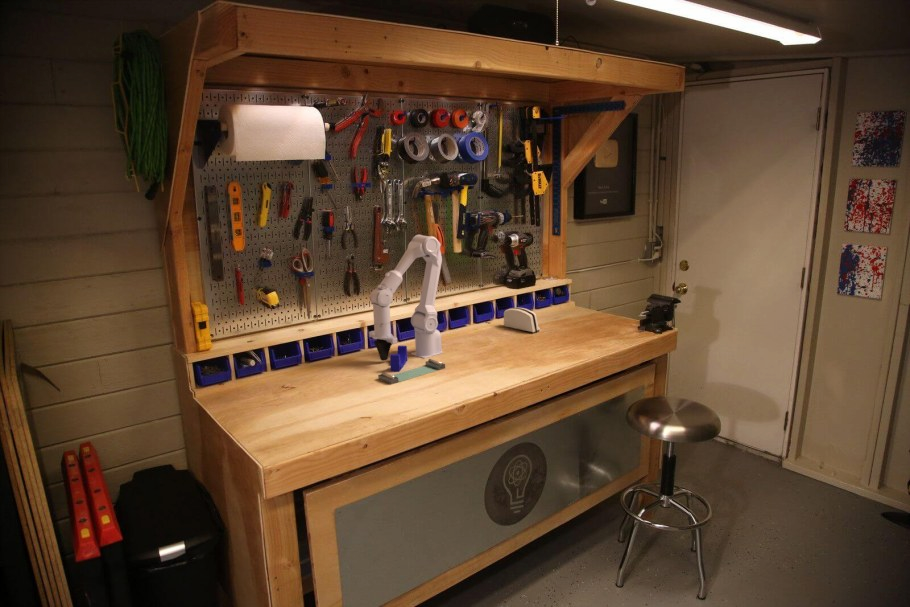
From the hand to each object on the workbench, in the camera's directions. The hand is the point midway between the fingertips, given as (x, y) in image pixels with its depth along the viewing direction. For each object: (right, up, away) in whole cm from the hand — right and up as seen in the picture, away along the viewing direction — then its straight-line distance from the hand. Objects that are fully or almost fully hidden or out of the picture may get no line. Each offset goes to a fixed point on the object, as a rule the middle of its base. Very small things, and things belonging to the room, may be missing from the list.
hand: (384, 359), depth 217 cm
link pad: (+11, -4, -12) cm, 16 cm away
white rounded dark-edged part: (+54, +8, +41) cm, 68 cm away
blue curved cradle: (+5, -2, -3) cm, 6 cm away
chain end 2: (+18, -2, -5) cm, 19 cm away
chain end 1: (+3, -5, -18) cm, 19 cm away
